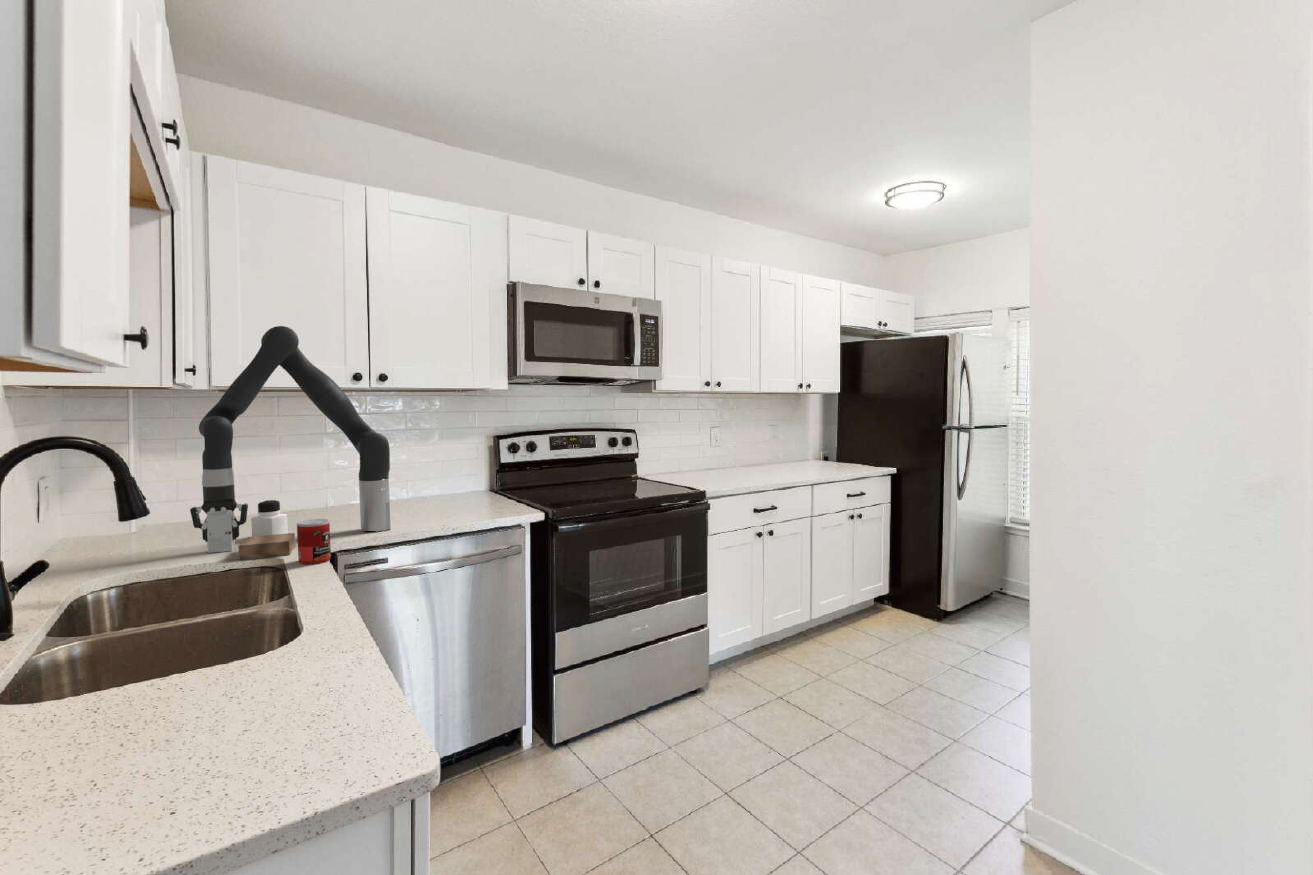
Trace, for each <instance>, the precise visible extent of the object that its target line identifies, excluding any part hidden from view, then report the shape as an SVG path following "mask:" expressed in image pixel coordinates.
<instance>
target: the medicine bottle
mask: <svg viewBox="0 0 1313 875" xmlns="http://www.w3.org/2000/svg"><path fill="white" fill-rule="evenodd" d="M250 521H251V525H250V526H251V537H252V536H264V535H276V534H288V533H289V532H288V529H289V528H288V514H286V513H281V503H280V500H276V499H273V500H272V499H268V500H262V501H260V502H258V503H257V516H253V517H251V518H250Z"/></svg>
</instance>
